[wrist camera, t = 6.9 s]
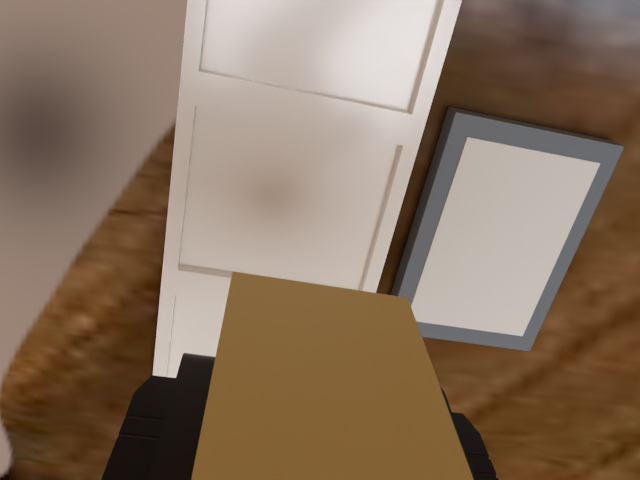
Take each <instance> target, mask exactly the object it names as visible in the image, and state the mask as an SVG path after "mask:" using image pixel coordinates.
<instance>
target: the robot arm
mask: <svg viewBox="0 0 640 480" xmlns="http://www.w3.org/2000/svg"><path fill="white" fill-rule="evenodd" d="M214 362H215V357H213V356H205V355H197V354H189V353H183V356H182V359H181V362H180V366H179V369H178V373H177V376H176V378H170V377H162V376H154V375H152V376H151V377H150V378H149V379H148V380H147V381H146V382H145V383H144V384H143V385H142V386H141V387H140V388H138V389H137V390H136V391H135V392H134V395H133V397H132V400H131V403H130V405H129V408H128V411H127V413H126V418H125V419H124V421H123V424H122V427H121V429H120V432H119V436H118V437H117V440H116V442H115V445H114V448H113V450H112V453H111V456H110V458H109V461H108V464H107V466H106V469H105V472H104V474H103V477H102V480H191V478H192V473H193V468H194V463H195V458H196V453H197V448H198V443H199V438H200V433H201V428H202V423H203V418H204V413H205V408H206V402H207V397H208V392H209V387H210V382H211V377H212V372H213V367H214ZM440 388H441V387H440ZM441 391H442V394H443V397H444V399H445V402H446V405H447V408H448V410H449V413H450V416H451V419H452V421H453V424H454V427H455V430H456V432H457V435H458V438H459V441H460V443H461V446H462V449H463V452H464V454H465V457H466V460H467V463H468V465H469V468H470V471H471V474H472V476H473V479H474V480H499V479H498V478H496V472H495V470H494V467H493V465H492V462H491V460H489V459H488V456H489V455H488V453H487V450H486V448H485V445H484V443H483V440H482V438H481V436H480V433H479V432H478V431H477V430H476V429H475V428H474V426H473V425H472V424H471V423H470V422H469V420H468V419H467V418H466V417H465V416H464V415H463V414H461V413H453V412H451V409H450V406H449V404H448V401H447V398H446V396H445V393H444V391H443V389H442V388H441Z"/></svg>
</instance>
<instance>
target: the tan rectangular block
mask: <svg viewBox="0 0 640 480" xmlns="http://www.w3.org/2000/svg"><path fill="white" fill-rule="evenodd" d="M191 480H474V479H473V476H472V474H471V471H470V468H469V465H468V463H467V460H466V457H465V454H464V452H463V449H462V446H461V443H460V441H459V438H458V435H457V432H456V430H455V427H454V424H453V421H452V419H451V416H450V413H449V410H448V408H447V405H446V402H445V399H444V397H443V394H442V391H441V388H440V386H439V383H438V380H437V377H436V375H435V372H434V369H433V366H432V364H431V361H430V358H429V355H428V353H427V350H426V347H425V344H424V342H423V339H422V336H421V333H420V331H419V328H418V325H417V322H416V320H415V317H414V314H413V311H412V309H411V306H410V303H409V300H408V298H405V297H399V296H392V295H386V294H379V293H372V292H366V291H359V290H352V289H346V288H339V287H333V286H326V285H319V284H313V283H306V282H299V281H293V280H286V279H280V278H273V277H266V276H260V275H253V274H247V273H240V272H232V277H231V282H230V287H229V292H228V297H227V302H226V307H225V312H224V317H223V322H222V327H221V332H220V337H219V342H218V347H217V352H216V357H215V362H214V367H213V372H212V377H211V382H210V387H209V392H208V397H207V402H206V408H205V413H204V418H203V423H202V428H201V433H200V438H199V443H198V448H197V453H196V458H195V463H194V468H193V473H192V478H191Z"/></svg>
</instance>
